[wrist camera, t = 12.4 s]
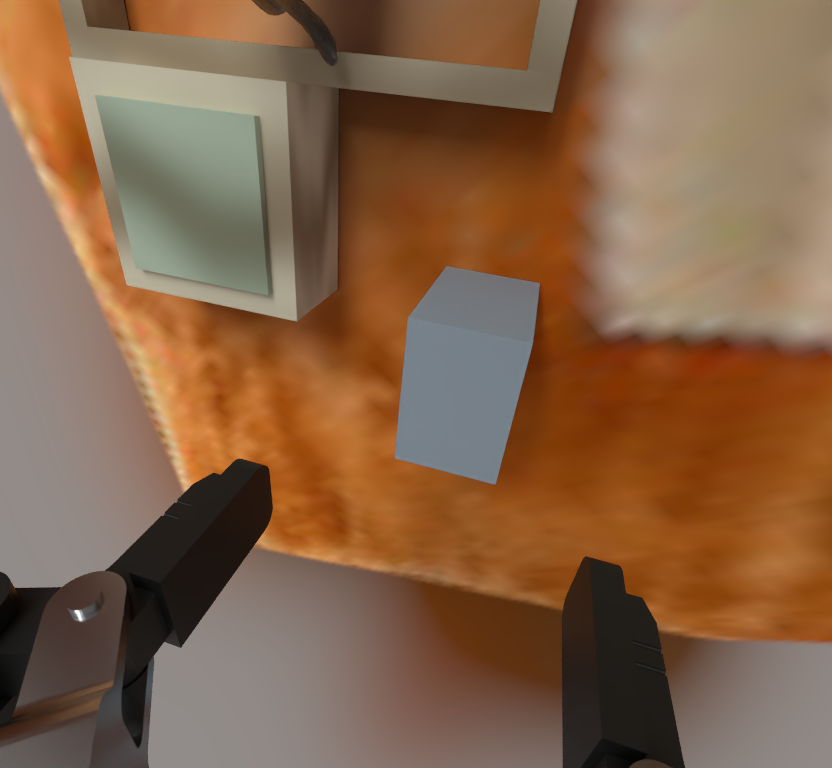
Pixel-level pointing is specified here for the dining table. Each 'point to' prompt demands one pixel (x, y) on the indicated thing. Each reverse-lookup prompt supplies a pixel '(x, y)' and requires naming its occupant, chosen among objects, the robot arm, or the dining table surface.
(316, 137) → the grey rectangular frame
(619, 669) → the robot arm
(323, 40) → the lion figurine
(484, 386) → the fin block
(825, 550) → the dining table surface
